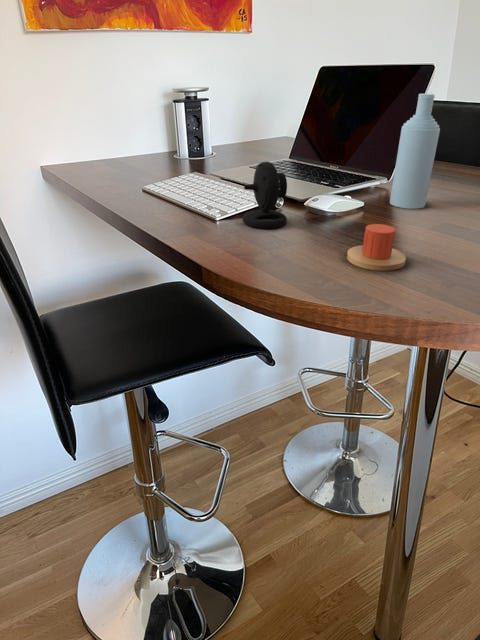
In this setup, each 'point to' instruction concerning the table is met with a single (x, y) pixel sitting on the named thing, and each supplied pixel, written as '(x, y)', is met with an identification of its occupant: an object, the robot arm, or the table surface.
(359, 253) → the coaster
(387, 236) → the cap
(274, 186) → the webcam
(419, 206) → the bottle
